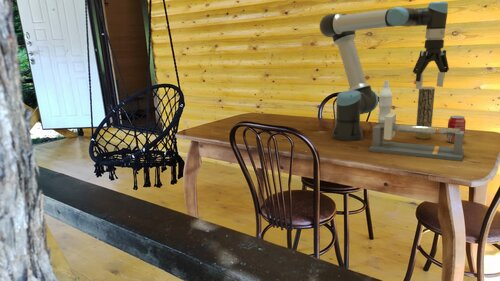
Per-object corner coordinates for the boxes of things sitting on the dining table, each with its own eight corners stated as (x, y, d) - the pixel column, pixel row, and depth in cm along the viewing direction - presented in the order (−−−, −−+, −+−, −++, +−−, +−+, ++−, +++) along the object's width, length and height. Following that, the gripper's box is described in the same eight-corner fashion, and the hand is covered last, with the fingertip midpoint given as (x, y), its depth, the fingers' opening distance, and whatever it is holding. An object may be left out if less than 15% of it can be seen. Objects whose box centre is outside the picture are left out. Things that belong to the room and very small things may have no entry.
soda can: (449, 139, 174) (451, 114, 171) (465, 141, 170) (468, 116, 167) (444, 142, 170) (446, 117, 167) (460, 144, 165) (463, 118, 162)
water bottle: (389, 125, 209) (391, 82, 203) (376, 124, 213) (378, 81, 207) (391, 123, 215) (394, 80, 209) (379, 122, 219) (381, 80, 212)
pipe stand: (368, 151, 161) (369, 129, 158) (376, 143, 172) (377, 123, 170) (462, 161, 142) (464, 136, 140) (463, 152, 154) (465, 129, 151)
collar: (383, 139, 158) (384, 116, 156) (387, 134, 166) (389, 113, 163) (390, 139, 157) (392, 117, 154) (394, 135, 164) (396, 113, 162)
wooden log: (432, 139, 175) (436, 87, 169) (417, 139, 177) (421, 88, 171) (428, 136, 182) (432, 86, 176) (414, 136, 183) (417, 86, 177)
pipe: (377, 130, 162) (377, 123, 161) (378, 129, 165) (379, 122, 164) (459, 137, 145) (459, 129, 145) (459, 135, 148) (460, 127, 147)
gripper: (421, 39, 150) (416, 90, 155) (461, 38, 160) (455, 86, 166) (407, 39, 156) (402, 88, 162) (446, 38, 166) (440, 84, 172)
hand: (429, 87), depth 164 cm, fingers open, 13 cm apart
